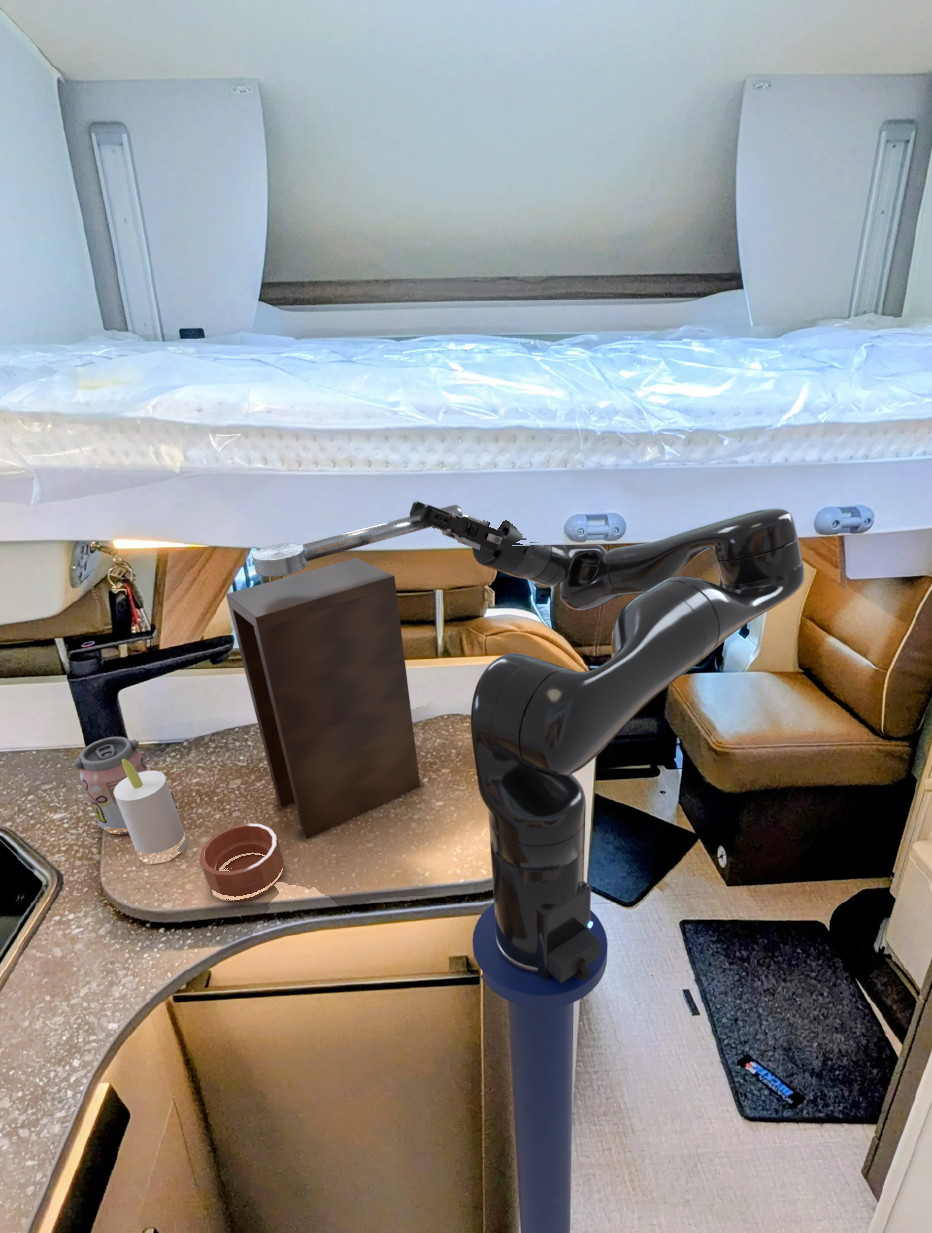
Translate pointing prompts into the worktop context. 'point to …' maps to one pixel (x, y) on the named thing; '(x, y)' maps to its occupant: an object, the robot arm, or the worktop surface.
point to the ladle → (333, 545)
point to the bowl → (242, 860)
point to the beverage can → (107, 775)
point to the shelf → (329, 689)
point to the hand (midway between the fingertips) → (418, 510)
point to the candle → (149, 810)
